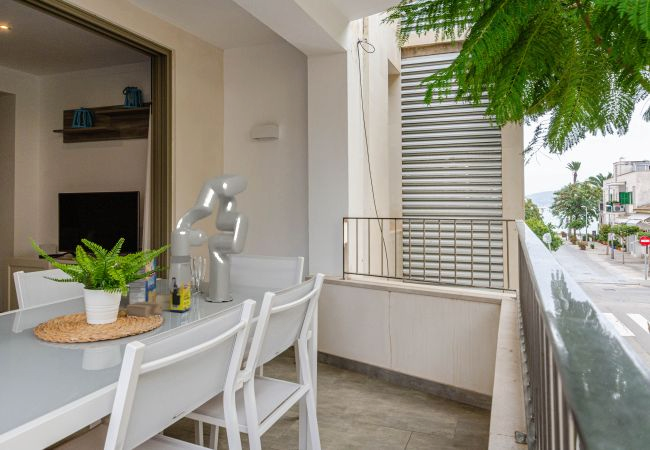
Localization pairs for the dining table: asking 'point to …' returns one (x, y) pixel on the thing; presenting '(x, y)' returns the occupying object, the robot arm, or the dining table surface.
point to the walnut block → (144, 309)
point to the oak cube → (164, 300)
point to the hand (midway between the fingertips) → (180, 302)
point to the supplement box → (182, 299)
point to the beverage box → (144, 286)
